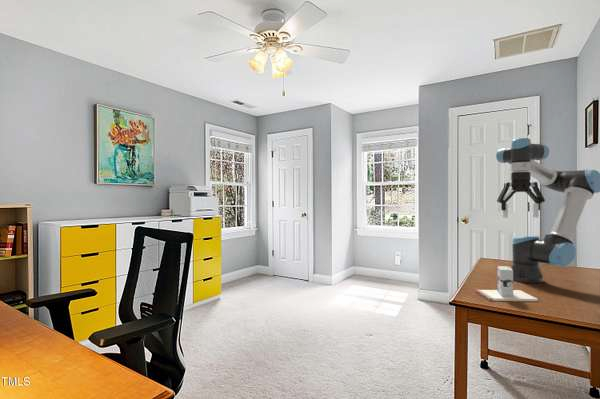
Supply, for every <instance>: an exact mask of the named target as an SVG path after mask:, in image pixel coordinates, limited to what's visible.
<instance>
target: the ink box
mask: <svg viewBox="0 0 600 399" xmlns="http://www.w3.org/2000/svg"><path fill="white" fill-rule="evenodd" d="M496 287H497V289H496V290H497V291H498V292H499V294H500V295H501V296H506V297H513V290H514V280H513V270H512V269H511V267H510V266H505V265H504V266H503V265H502V266H501V265H500V266H499V265H498V266H497V286H496Z"/></svg>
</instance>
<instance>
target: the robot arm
mask: <svg viewBox="0 0 600 399" xmlns="http://www.w3.org/2000/svg"><path fill="white" fill-rule="evenodd" d="M510 144H511V146H510V147H503V148H500V149H498V150H497V151H496V154H495V158H496V161H498V162H499V163H501V164H506V163H508V164H510V166H511V168H510V172H511V173H510V178H511V179H510V180H511V182H509V181H507V182H504V183H503V188H502V190H501V192H500V193H499V196H498V197H497V199H496V202H497V203H500V204H501V205H500V206H501V208H500V210H501V211H502V217H503V218H506V219H507V218H509V204H508V201H509V200H510V199H511V198H512V197H514V196H513V195H514V194H516V193H526V194H527V195H528V196H529V198H530V199H531V200H532V201H533V202H534V203H532V206H533V207H532V217H533V218H539V211H541V204H542V203H544V202H546V200H545V198H544V196H543V194H542V191H541V190H540V188H539V185H538V183H539V184H540V185H541V186H543V187H545V188H546V189H549V190H552V191H555V192H559V193H565V197H564V200H563V202H562V204H561V207H560V209H559V212H558V214H557V217H556V218H555V221H554V223H553V225H552V228H551V230H550V233H546V234H545V235H544V238H543V239H540V237H539V236H538V235H528V236H527V235H525V236H524V235H523V236H522V235H521V236H515V237H513V239H512V243H511V244H512V245H511V246H512V264H511V267H510V268H511V269H512V270H513V281H515V282H520V283H527V284H528V283H529V284H538V283H539V284H541V283H543V282H544V276H543V274H542V272H541V268H540V263H541V264H544V265H545V264H547V265H551V266H555V267H566V266H569V265H571V264H572V262H574V260H575V258H576V254H577V253H576V251H577V250H576V246H575V245H574V242H573V240H572V238H573V235H574V233H575V230H576V227H577V225H578V223H579V221H580V218H581V215H582V213H583V211H584V209H585V206H586V204H587V202H588V200H591V199H593V196H594V194H597V193H600V171H598V170H597V169H582V170H579V169H578V170H561V171H560V170H556V169H553V168H548V167H547V166H545V165H543V164H541V163H539V162H538V161H542V160H545V159H546V158H548V157H549V154H550V148H549V147H548V146H547V145H545V144H542V143H532V142H531V138H529V137H519V138H515V139H512V141H511V143H510ZM531 178H534V179H535V180H536V181H532V182H531ZM537 181H538V182H537ZM510 187H511V189H510V190H509V188H510ZM530 187H531V188H532V189H531V188H530ZM508 191H509V192H508Z"/></svg>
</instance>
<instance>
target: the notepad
mask: <svg viewBox="0 0 600 399" xmlns="http://www.w3.org/2000/svg"><path fill="white" fill-rule="evenodd" d="M475 293H476V294H478V295H480V297H483V298H484V299H486V300H487V301H489V302H501V301H502V302H538V301H539V300H538V298H537V297H535V296H532V295H531V294H529V293H526V292H525V291H523V290H520V289H513V297H506V296H501V295H500V294H499V292H498V291H497V289H475Z"/></svg>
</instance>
